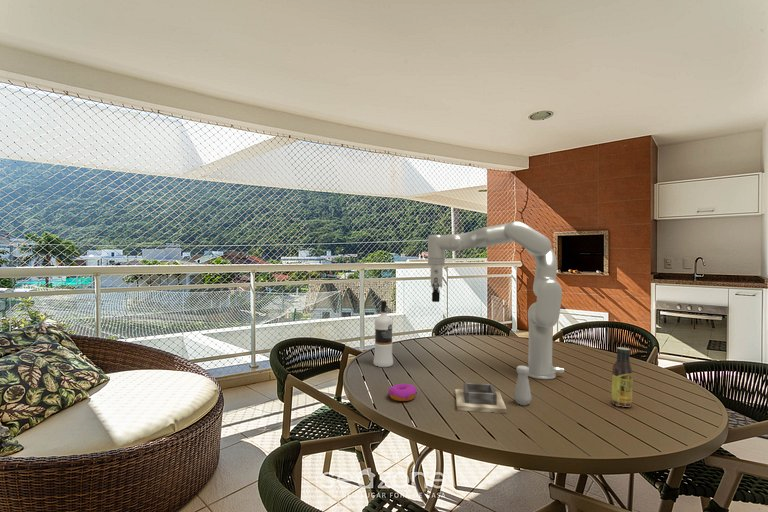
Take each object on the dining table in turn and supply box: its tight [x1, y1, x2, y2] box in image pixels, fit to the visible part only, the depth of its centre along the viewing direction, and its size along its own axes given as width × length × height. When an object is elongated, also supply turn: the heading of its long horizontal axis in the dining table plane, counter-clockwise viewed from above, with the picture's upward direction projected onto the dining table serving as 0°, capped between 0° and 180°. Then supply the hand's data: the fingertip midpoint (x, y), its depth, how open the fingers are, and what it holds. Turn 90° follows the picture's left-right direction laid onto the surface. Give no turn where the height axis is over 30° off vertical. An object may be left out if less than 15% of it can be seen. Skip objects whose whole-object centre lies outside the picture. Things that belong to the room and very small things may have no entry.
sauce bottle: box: [610, 346, 634, 406], centre depth 135 cm, size 6×6×20 cm
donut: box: [388, 383, 418, 402], centre depth 140 cm, size 10×10×5 cm
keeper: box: [454, 382, 508, 414], centre depth 136 cm, size 16×16×5 cm
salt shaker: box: [513, 365, 532, 406], centre depth 136 cm, size 6×6×13 cm
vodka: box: [372, 300, 394, 368], centre depth 180 cm, size 9×9×30 cm
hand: (435, 300), depth 174 cm, fingers open, 9 cm apart
